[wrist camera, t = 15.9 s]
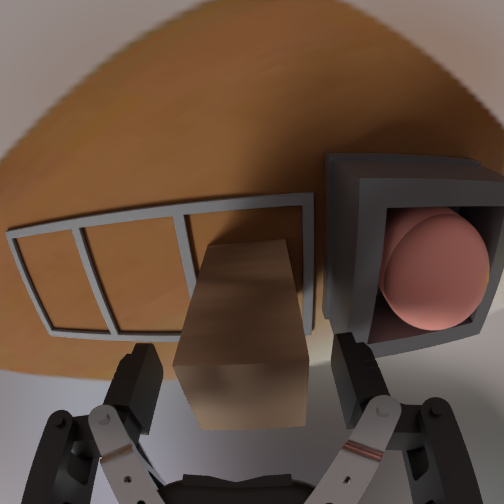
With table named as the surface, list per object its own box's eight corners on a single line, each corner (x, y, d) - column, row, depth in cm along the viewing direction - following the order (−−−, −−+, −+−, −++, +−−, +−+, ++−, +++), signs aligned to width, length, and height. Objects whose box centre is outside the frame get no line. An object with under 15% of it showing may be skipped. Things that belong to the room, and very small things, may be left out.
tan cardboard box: (219, 306, 19) (201, 429, 11) (207, 245, 17) (172, 365, 9) (287, 301, 19) (305, 425, 11) (284, 238, 17) (309, 358, 9)
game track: (51, 333, 21) (50, 335, 21) (7, 230, 17) (4, 232, 16) (310, 332, 20) (311, 334, 20) (312, 191, 16) (313, 193, 15)
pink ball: (359, 292, 17) (393, 366, 12) (367, 194, 14) (424, 246, 9) (440, 282, 17) (487, 341, 11) (457, 194, 14) (524, 237, 9)
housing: (322, 309, 19) (338, 366, 15) (324, 153, 15) (354, 173, 10) (447, 292, 19) (480, 335, 14) (471, 158, 14) (524, 180, 10)
